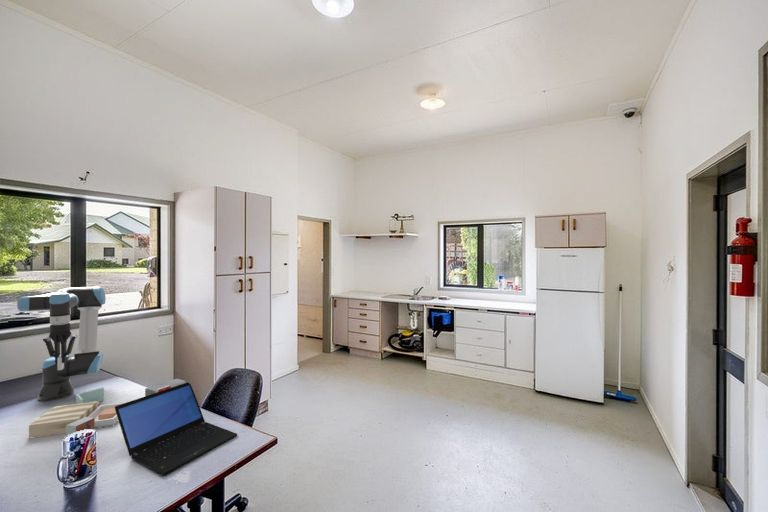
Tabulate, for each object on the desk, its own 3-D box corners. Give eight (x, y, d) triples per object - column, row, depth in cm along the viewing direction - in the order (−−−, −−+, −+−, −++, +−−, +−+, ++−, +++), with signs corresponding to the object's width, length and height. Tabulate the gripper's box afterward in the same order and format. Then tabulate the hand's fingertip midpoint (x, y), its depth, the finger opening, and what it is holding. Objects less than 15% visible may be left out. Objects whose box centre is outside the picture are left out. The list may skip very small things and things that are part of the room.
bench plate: (54, 418, 171) (54, 406, 171) (97, 412, 177) (97, 401, 177) (28, 438, 152) (28, 425, 152) (78, 431, 159) (78, 418, 159)
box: (99, 412, 178) (99, 405, 178) (129, 408, 182) (129, 401, 182) (80, 430, 159) (80, 423, 159) (113, 425, 164) (113, 418, 164)
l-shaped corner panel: (80, 413, 177) (80, 399, 177) (75, 407, 184) (75, 394, 184) (109, 405, 187) (109, 392, 187) (103, 400, 194) (103, 387, 194)
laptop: (162, 479, 125) (162, 427, 125) (113, 451, 143) (113, 406, 143) (238, 436, 154) (238, 395, 154) (189, 418, 172) (189, 380, 172)
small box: (75, 450, 143) (75, 426, 143) (65, 449, 144) (65, 425, 144) (95, 440, 150) (95, 417, 150) (85, 439, 152) (85, 416, 152)
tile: (120, 407, 176) (120, 412, 176) (104, 409, 173) (104, 414, 173) (115, 412, 169) (115, 418, 169) (98, 415, 167) (98, 421, 167)
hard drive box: (153, 433, 156) (153, 391, 156) (144, 429, 160) (144, 388, 160) (185, 419, 170) (185, 380, 170) (176, 415, 174) (176, 377, 174)
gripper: (39, 326, 164) (39, 373, 164) (73, 324, 169) (73, 370, 169) (47, 322, 170) (48, 368, 171) (79, 321, 175) (80, 365, 176)
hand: (60, 369), depth 170 cm, fingers closed
